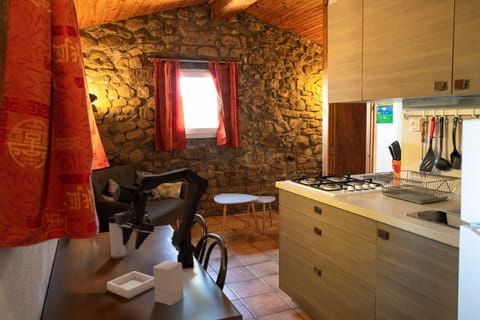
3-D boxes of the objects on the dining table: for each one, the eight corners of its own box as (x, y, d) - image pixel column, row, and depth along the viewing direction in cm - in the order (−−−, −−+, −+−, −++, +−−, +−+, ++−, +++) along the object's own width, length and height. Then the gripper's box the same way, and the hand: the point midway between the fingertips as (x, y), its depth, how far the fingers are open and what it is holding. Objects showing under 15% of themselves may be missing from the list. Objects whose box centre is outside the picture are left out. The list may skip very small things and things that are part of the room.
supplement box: (184, 297, 134) (182, 262, 133) (170, 306, 128) (168, 270, 126) (168, 292, 138) (166, 259, 136) (154, 301, 131) (152, 266, 130)
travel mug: (121, 259, 173) (118, 216, 171) (108, 258, 175) (105, 216, 173) (128, 254, 180) (125, 213, 177) (115, 253, 181) (112, 212, 179)
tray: (134, 278, 152) (134, 270, 151) (155, 285, 144) (155, 277, 144) (107, 290, 142) (106, 282, 141) (128, 298, 134) (127, 290, 134)
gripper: (109, 201, 148) (99, 241, 146) (133, 205, 135) (123, 249, 132) (134, 206, 156) (125, 244, 153) (159, 210, 143) (150, 252, 140)
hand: (130, 247), depth 144 cm, fingers open, 9 cm apart
